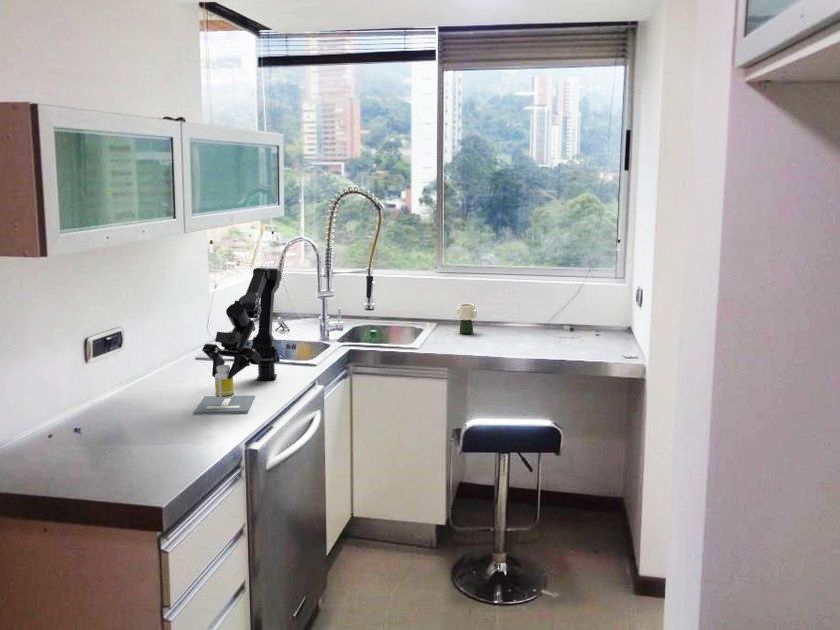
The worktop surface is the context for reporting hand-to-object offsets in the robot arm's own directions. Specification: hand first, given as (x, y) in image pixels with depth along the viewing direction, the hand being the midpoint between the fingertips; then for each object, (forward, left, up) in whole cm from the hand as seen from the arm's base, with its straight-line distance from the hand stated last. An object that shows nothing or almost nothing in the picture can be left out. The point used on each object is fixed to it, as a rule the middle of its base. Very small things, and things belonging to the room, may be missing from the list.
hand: (220, 377), depth 237 cm
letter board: (-2, +1, -10) cm, 10 cm away
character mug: (-101, +90, -10) cm, 135 cm away
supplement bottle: (-1, +1, -7) cm, 7 cm away
